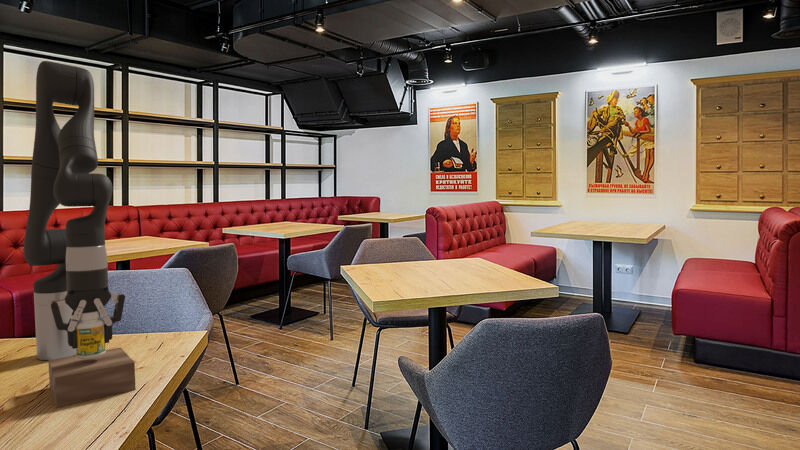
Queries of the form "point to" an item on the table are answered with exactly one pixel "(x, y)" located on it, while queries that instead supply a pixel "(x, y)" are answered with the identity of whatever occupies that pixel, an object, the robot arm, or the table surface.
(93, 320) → the supplement bottle
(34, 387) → the table surface
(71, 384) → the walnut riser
